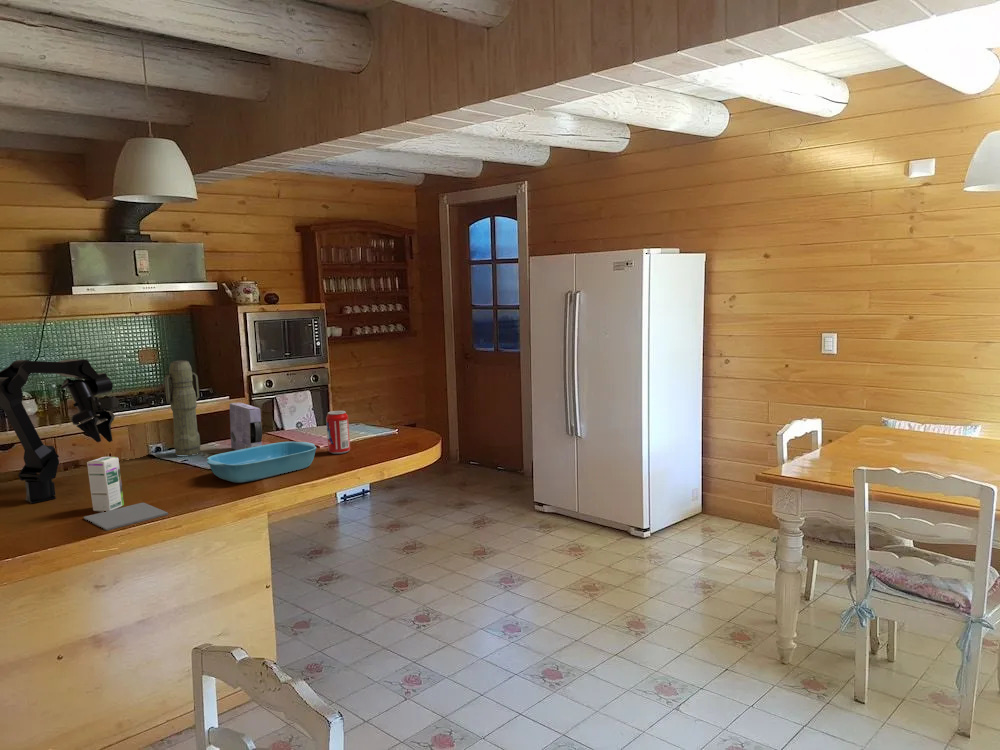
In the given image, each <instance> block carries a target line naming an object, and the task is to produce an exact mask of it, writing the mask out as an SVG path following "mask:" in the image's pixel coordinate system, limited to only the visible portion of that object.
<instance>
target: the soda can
mask: <svg viewBox="0 0 1000 750" xmlns="http://www.w3.org/2000/svg"><path fill="white" fill-rule="evenodd" d="M325 421H326V437H327V451H328V452H329V453H331V454H332V455H341V454H347V453H348V452H350V450H351V439H350V425H349V423H350V422H349V415H348V414H347V411H345V410H332V411H329V412H327V415H326V417H325Z"/></svg>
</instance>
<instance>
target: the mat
mask: <svg viewBox="0 0 1000 750" xmlns="http://www.w3.org/2000/svg"><path fill="white" fill-rule="evenodd" d="M168 515H169V512H168V511H165V510H163V509H161V508H159V507H155V506H154V505H151V504H149V503H145V502H139V503H135V504H131V505H127V506H121V507H119V508H116V509H114V510H110V511H106V512H104V511H101V512H98V513H94V514H90V515H85V516H83V518H84V519H83V520H85V521H87V520H88V521H87V522H89V521H90V522H89V523H91V522H92V523H91V524H92V525H95V526H97V527H99V528H100V527H101V529H102V528H103V529H102V530H104V531H110V530H114V529H118V528H121V527H126V526H129V525H133V524H138V523H141V522H144V521H148V520H152V519H156V518H159V517H163V516H168Z"/></svg>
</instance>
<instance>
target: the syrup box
mask: <svg viewBox="0 0 1000 750" xmlns="http://www.w3.org/2000/svg"><path fill="white" fill-rule="evenodd" d="M119 461H120V459H119V457H118V456H101V457H99V458H96V459H93V460H89V461H87V462H86V464H87V472H88V473H87V474H88V482H89V490H90V495H91V497H90V498H91V503H92V504H91V505H92V510H93V512H104V511H110V510H114V509H118V508H122V507H125V502H124V492H123V484H122V483H123V482H122V477H121V468H120V462H119Z"/></svg>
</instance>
